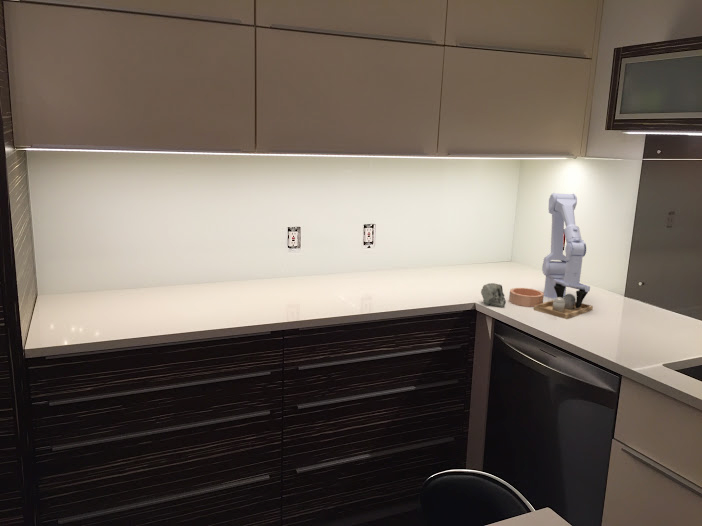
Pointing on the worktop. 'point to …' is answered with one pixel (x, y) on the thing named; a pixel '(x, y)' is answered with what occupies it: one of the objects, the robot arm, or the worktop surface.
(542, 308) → the tray
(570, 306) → the pebble
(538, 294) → the bowl
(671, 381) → the worktop surface
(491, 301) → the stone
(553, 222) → the robot arm
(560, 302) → the pebble
